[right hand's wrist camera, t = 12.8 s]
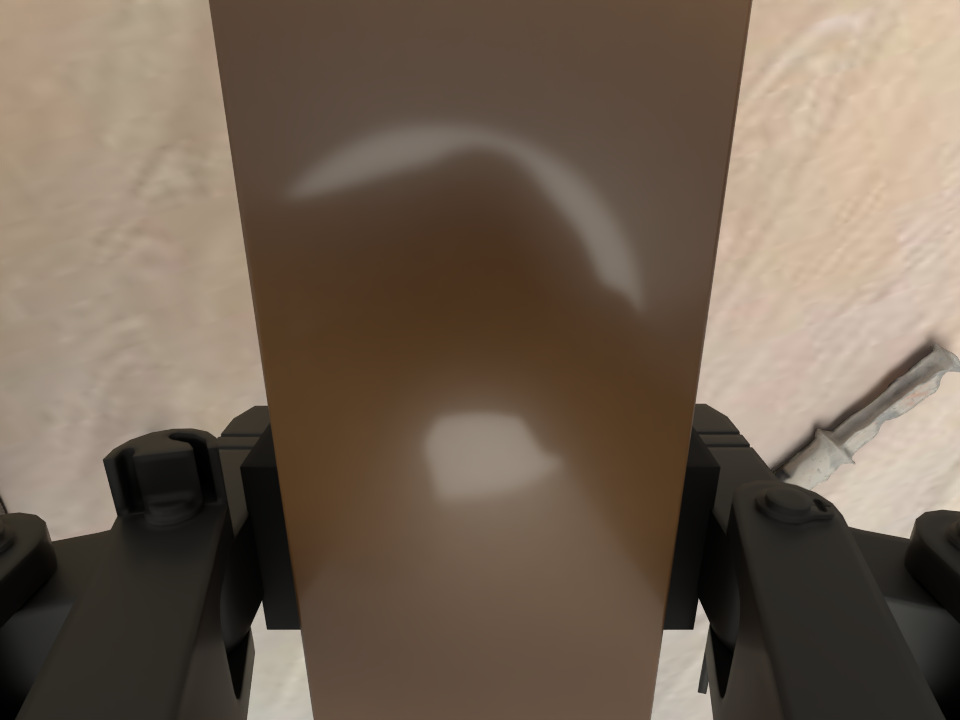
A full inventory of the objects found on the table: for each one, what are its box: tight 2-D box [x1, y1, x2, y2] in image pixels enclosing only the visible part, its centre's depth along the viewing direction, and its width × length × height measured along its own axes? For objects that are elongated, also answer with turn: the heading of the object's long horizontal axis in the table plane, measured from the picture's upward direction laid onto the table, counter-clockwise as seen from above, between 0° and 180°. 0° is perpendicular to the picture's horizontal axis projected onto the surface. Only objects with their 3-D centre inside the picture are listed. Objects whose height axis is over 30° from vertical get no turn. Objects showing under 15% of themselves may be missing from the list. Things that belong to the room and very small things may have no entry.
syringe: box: [774, 343, 960, 490], centre depth 47 cm, size 25×4×3 cm, turn 137°
